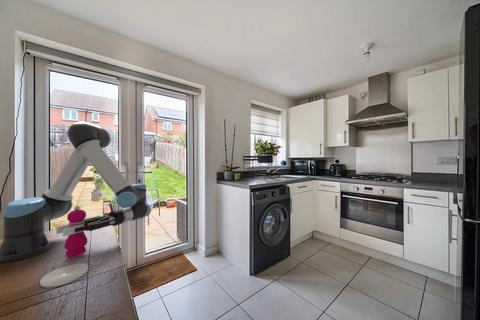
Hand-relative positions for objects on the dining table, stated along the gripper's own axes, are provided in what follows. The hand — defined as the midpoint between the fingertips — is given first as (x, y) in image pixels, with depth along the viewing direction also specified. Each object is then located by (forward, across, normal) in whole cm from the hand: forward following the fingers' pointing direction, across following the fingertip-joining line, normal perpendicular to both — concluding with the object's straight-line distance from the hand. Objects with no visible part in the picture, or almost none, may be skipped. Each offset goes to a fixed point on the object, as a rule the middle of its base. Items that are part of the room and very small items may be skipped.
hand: (60, 231), depth 72 cm
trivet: (+3, -13, -12) cm, 18 cm away
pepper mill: (-5, 0, -11) cm, 12 cm away
